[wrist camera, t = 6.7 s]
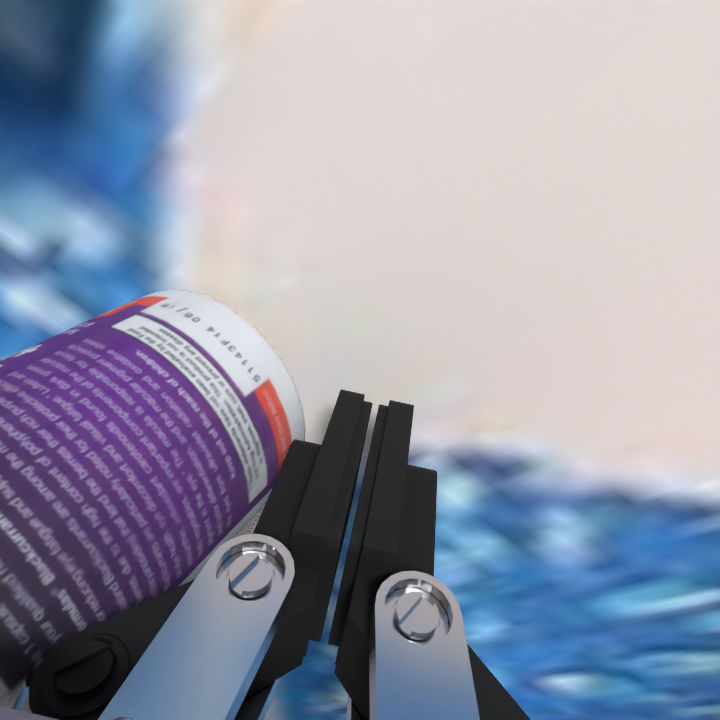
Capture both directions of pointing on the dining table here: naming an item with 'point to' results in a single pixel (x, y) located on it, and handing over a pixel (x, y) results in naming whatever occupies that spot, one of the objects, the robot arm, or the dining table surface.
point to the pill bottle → (130, 462)
